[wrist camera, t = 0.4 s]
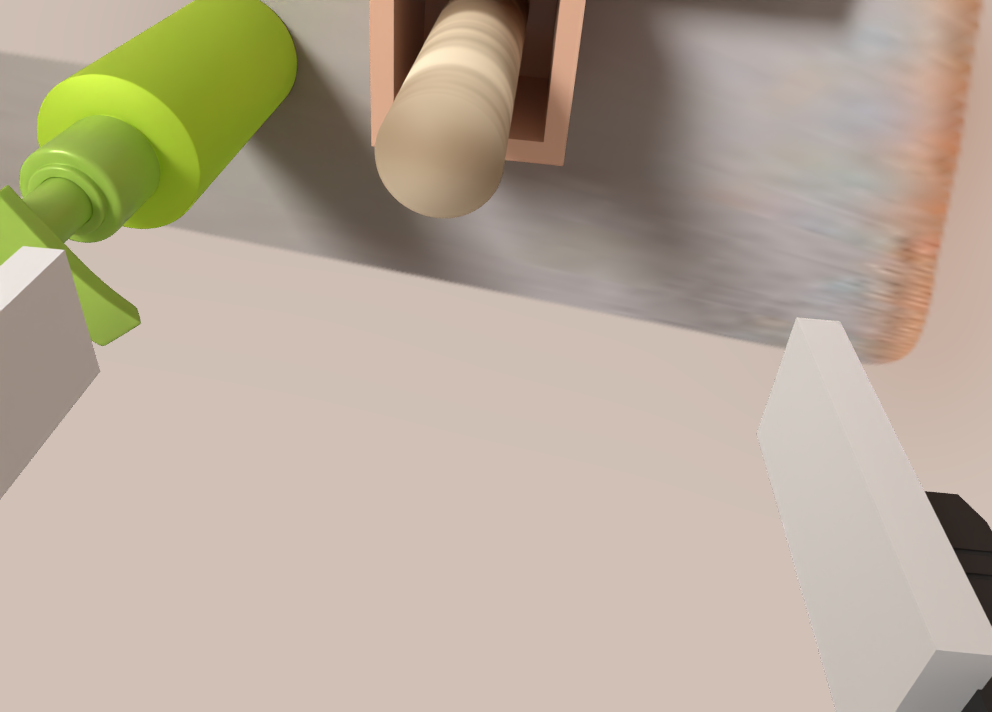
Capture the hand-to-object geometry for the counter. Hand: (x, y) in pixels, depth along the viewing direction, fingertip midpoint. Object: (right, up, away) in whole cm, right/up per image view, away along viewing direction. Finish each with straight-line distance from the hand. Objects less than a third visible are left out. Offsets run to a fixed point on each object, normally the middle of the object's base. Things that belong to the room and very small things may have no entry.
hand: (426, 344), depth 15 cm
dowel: (+1, +16, +22) cm, 27 cm away
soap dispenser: (-11, +14, +25) cm, 31 cm away
